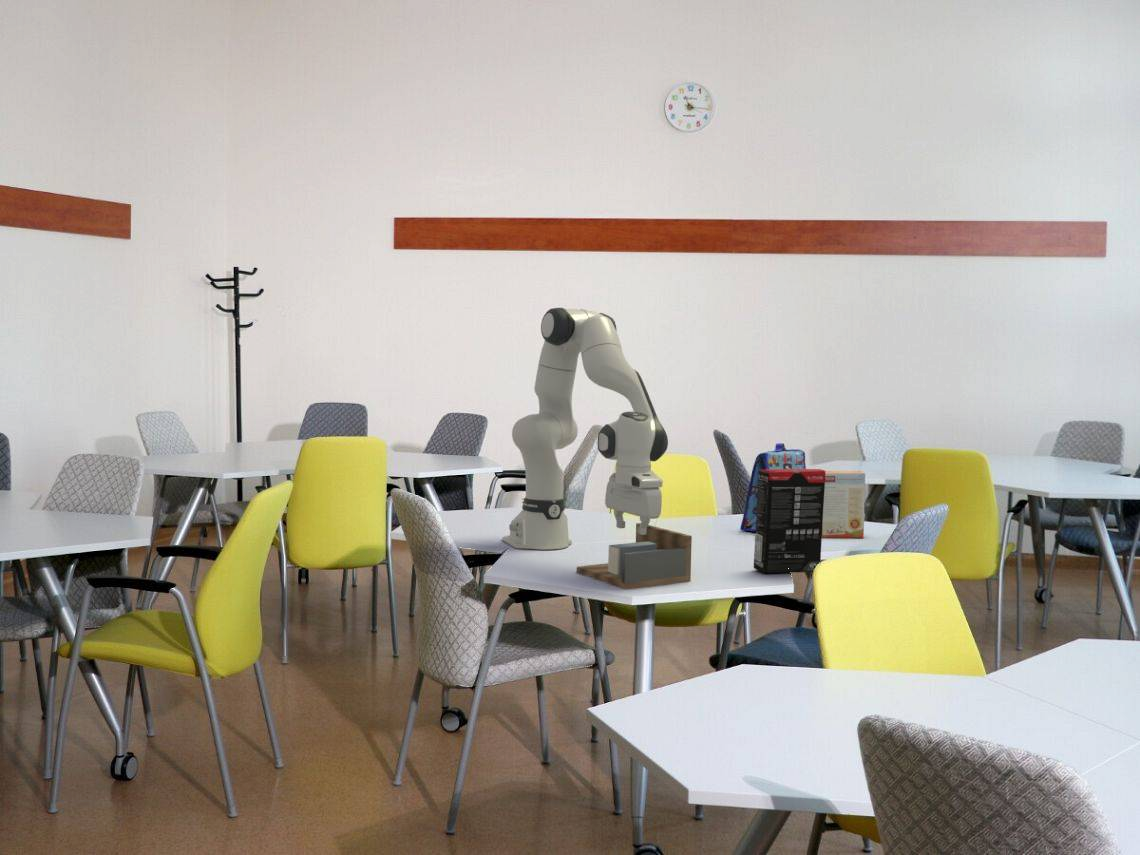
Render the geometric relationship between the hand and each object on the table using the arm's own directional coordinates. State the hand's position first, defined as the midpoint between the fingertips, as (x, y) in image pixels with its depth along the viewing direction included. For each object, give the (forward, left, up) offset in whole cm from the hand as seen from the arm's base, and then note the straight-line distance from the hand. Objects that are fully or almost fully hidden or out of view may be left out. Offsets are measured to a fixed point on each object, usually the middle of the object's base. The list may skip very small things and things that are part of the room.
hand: (631, 531), depth 264 cm
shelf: (-1, +1, -12) cm, 12 cm away
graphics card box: (+12, +42, -12) cm, 46 cm away
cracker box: (-21, +95, -12) cm, 98 cm away
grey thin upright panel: (+10, +1, -10) cm, 14 cm away
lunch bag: (-39, +85, -12) cm, 94 cm away
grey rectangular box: (0, +1, -10) cm, 10 cm away
